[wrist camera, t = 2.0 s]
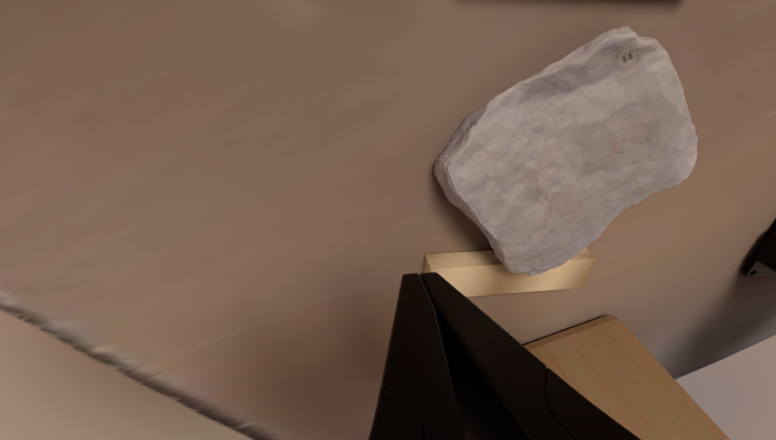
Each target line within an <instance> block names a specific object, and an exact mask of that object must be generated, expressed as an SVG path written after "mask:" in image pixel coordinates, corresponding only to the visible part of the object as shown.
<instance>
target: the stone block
mask: <svg viewBox="0 0 776 440" xmlns="http://www.w3.org/2000/svg"><path fill="white" fill-rule="evenodd" d="M697 142H698V135H696V132H695V127H694V125H693V124H692V123H691V117H690V114H689V111H688V106H687V103H686V100H685V96H684V92H683V87H682V84H681V82H680V80H679V77H678V75H677V73H676V71H675V69H674V67H673V65H672V63H671V60H670V58H669V55H668V53H667V52H666V51H665V49H664V48H663V47H662V45H661V44H660V43H659V42H658V41H657V40H656V39H653V38H650V37H641V36H638V35H637V33H635V32H633V30H631V29H630V28H629V27H623V26H622V27H621V28H618V29H612V30H609V31H606V32H603V33H602V34H600V35H599V36H598V37H596V38H594V39H593V40H591V41H590V42H588V43H586V44H584V45H582V46H581V47H579V48H578V49H577V50H575V51H574V52H572V53H570V54H569V55H567V56H565V57H564V58H563V59H561V60H560V61H557V62H555V63H551V64H550V65H549V66H547V67H546V68H544V69H542V70H540V72H538V73H537V74H535V75H534V76H532V77H529V78H527V79H525V80H522V81H520V82H518V83H516V84H515V85H513V86H512V87H510V88H509V89H508V90H506V91H505V92H503V93H500V94H499V95H497V96H496V97H494V98H492V99H491V100H490V102H489V103H487V104H486V105H485V106H484V107H483V108H482V109H480V110H477V111H476V112H474V113H471V114H470V115H469V116H467V117H465V119H464V120H463V122H462V124H461V125H460V127H459V128H458V130H457V132H456V133H455V134H454V136H453V137H452V138H451V139H450V141H449V143H448V144H447V146H446V148H445V149H444V150H443V152H442V153H441V154H440V156H439V157H438V158H437V159H436V161H435V164H434V165H435V166H434V170H433V171H434V173H435V176H436V178H437V180H438V182H439V183H440V185H441V186H442V188H443V191H444V194H445V196H446V197H447V198H448V200H449V202H450V203H452V204H453V205H455V206H456V207H458V208H459V209H460V210H461V211H463V213H464V215H466V216H467V217H469V218H470V219H471V220H472V221H474V223H475V224H476V225H477V226H478V227H479V228H480V230H481V231H482V232H483V233H484V235H485V236H486V238H487V239H488V241H489V243H490V246H491V247H492V248H493V250H494V252H495V255H496V257H497V258H498V259H499V260H500V261H501V262H502V263H503V265H504V266H505V267H506V269H507V270H508V271H510V272H512V273H515V274H527V275H528V276H534V275H536V274H542V273H543V272H546V271H548V270H550V269H553V268H556V267H559V266H562V265H563V264H564V263H566V262H567V261H568V260H569V259H571V258H573V257H574V256H576V255H577V254H578V253H579V252H580V251H581V250H583V249H585V248H586V247H588V245H589V244H591V243H592V242H593V241H595V240H596V239H598V237H599V236H600V235H601V234H602V233H603V232H604V230H605V229H606V227H607V226H608V225H609V224H610V223H611V222H612V220H614V219H615V218H616V217H617V216H618V215H619V214H620V213H621V212H623V211H624V210H625V209H627V208H628V207H630V206H633V205H635V204H637V203H639V202H640V201H642V200H643V199H644V198H645V197H647V196H648V195H649V194H652V193H655V192H658V191H661V190H664V189H667V188H670V187H673V186H676V185H678V184H680V183H681V182H682V181H684V180H685V179H686V178H687V177H688V176H689V175H690V173H691V171H692V169H693V168H694V165H695V162H696V158H697Z"/></svg>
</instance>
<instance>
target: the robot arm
mask: <svg viewBox="0 0 776 440" xmlns="http://www.w3.org/2000/svg"><path fill="white" fill-rule="evenodd" d="M742 274H743V275H745V276H746V277H748V278H754V277H766V276H776V225H775V226H774V227H773V229H772V230H771V232H770V233H769V234H768V236H767V237H766V238H765V240H764V241H763V243H762V244H761V245H760V247H759V248H758V250H757V251H756V252H755V254H754V255H753V257H752V258H751V259H750V261H749V262H748V263H747V265H746V266H745V268H744V269H743V271H742ZM368 440H641V439H640V438H639V437H637V436H636V435H634V434H633V433H632V432H630V431H629V430H628V429H626V428H625V427H623V426H622V425H621V424H619V423H618V422H617V421H615V420H614V419H613V418H611V417H610V416H609V415H607V414H606V413H605V412H603V411H602V410H601V409H599V408H598V407H597V406H595V405H594V404H593V403H591V402H590V401H589V400H588V399H586V398H585V397H584V396H583V395H581V394H580V393H579V392H578V391H576V390H575V389H574V388H573V387H572V386H570V385H569V384H568V383H567V382H565V381H564V380H563V379H562V378H561V377H560V376H558V375H557V374H556V373H555V372H554V371H552V370H551V369H550V368H546V365H545V364H544V363H543V362H542V361H541V360H539V359H538V358H537V357H536V356H535V355H533V354H532V353H531V352H530V351H529V350H528V349H526V348H525V347H524V346H523V345H522V344H521V343H519V342H518V341H517V340H516V339H515V338H513V337H512V336H511V335H510V334H509V333H508V332H506V331H505V330H504V329H503V328H502V327H501V326H499V325H498V324H497V323H496V322H495V321H493V320H492V319H491V318H490V317H489V316H488V315H486V314H485V313H484V312H483V311H482V310H481V309H479V308H478V307H477V306H476V305H475V304H474V303H472V302H471V301H470V300H469V299H468V298H466V297H465V296H464V295H463V294H462V293H461V292H459V291H458V290H457V289H456V288H455V287H454V286H452V285H451V284H450V283H449V282H448V281H446V280H445V279H444V278H443V277H442V276H441V275H439V274H438V273H436V272H425V273H421V274H420V275H419V274H418V273H411V274H404V275H403V276H402V280H401V286H400V291H399V296H398V301H397V306H396V311H395V316H394V321H393V327H392V332H391V337H390V342H389V347H388V352H387V357H386V362H385V368H384V373H383V378H382V383H381V388H380V392H379V397H378V402H377V407H376V411H375V416H374V420H373V424H372V428H371V432H370V435H369V439H368Z"/></svg>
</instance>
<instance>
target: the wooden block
mask: <svg viewBox="0 0 776 440" xmlns="http://www.w3.org/2000/svg"><path fill="white" fill-rule="evenodd" d="M524 347H525V348H526V349H528V350H529V351H530V352H531V353H532V354H533V355H535V356H536V357H537V358H538V359H539V360H541V361H542V362H543V363H544V364H545V365H546V368H550V369H551V370H552V371H554V372H555V373H556V374H557V375H558V376H560V377H561V378H562V379H563V380H564V381H565V382H567V383H568V384H569V385H570V386H572V387H573V388H574V389H575V390H576V391H578V392H579V393H580V394H581V395H583V396H584V397H585V398H586V399H588V400H589V401H590V402H591V403H593V404H594V405H595V406H597V407H598V408H599V409H601V410H602V411H603V412H605V413H606V414H607V415H609V416H610V417H611V418H613V419H614V420H615V421H617V422H618V423H619V424H621V425H622V426H623V427H625V428H626V429H628V430H629V431H630V432H632V433H633V434H634V435H636V436H637V437H639V438H640V439H641V440H730V439H729V438H728V437H727V436H726V435H725V434H724V433H723V432H722V431H721V430H720V429H719V428H718V426H717V425H716V424H715V423H714V422H713V421H712V420H711V419H710V418H709V417H708V415H707V414H706V413H705V412H704V411H703V410H702V409H701V408H700V407H699V406H698V405H697V403H696V402H695V401H694V400H693V399H692V398H691V397H690V396H689V395H688V394H687V393H686V392H685V390H683V388H682V387H681V386H680V385H679V384H678V383H677V382H676V381H675V379H674V378H673V377H672V376H671V375H670V374H669V373H668V372H667V371H666V370H665V369H664V368H663V366H662V365H661V364H660V363H659V362H658V361H657V360H656V359H655V358H654V357H653V356H652V354H651V353H650V352H649V351H648V350H647V349H646V348H645V347H644V346H643V345H642V344H641V342H640V341H639V340H638V339H637V338H636V337H635V336H634V335H633V334H632V333H631V332H630V330H629V329H628V328H627V327H626V326H625V325H624V324H623V323H622V322H621V321H620V320H619V319H618V318H616V317H614V316H604V317H601V318H598V319H595V320H593V321H590V322H587V323H584V324H582V325H579V326H576V327H573V328H570V329H568V330H565V331H562V332H559V333H557V334H554V335H551V336H548V337H546V338H543V339H540V340H537V341H535V342H532V343H529V344H526V345H524Z"/></svg>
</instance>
